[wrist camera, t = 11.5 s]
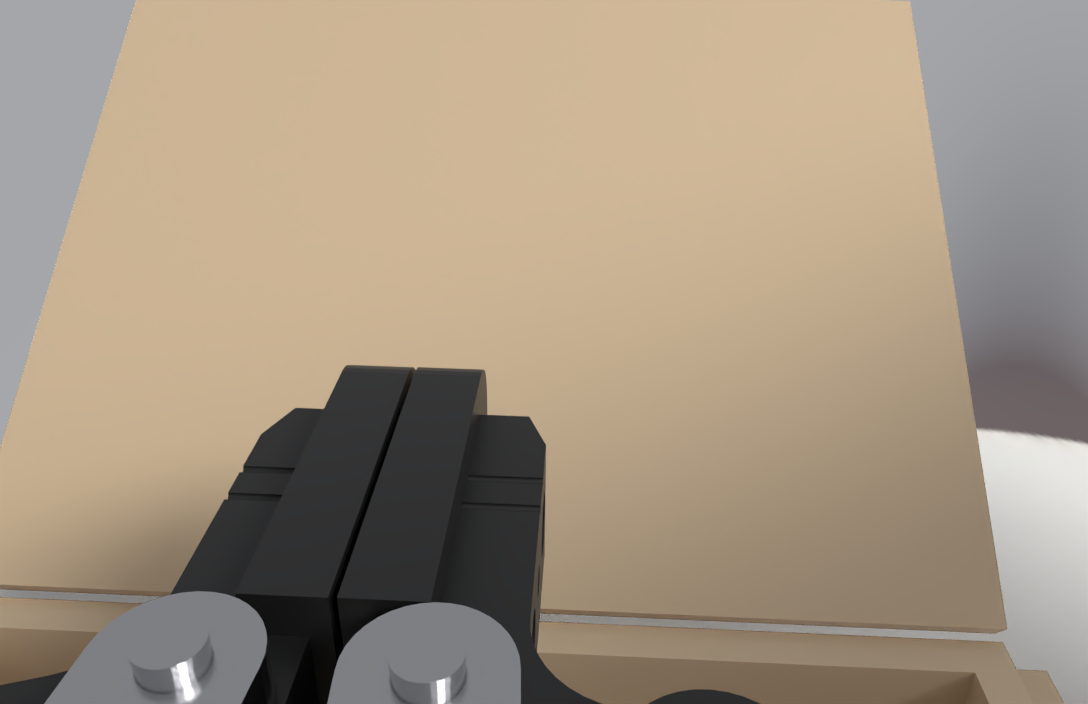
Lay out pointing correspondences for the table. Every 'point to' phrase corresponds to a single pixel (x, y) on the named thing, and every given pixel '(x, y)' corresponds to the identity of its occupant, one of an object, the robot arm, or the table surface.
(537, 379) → the lid flap
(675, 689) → the carton
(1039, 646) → the table surface
